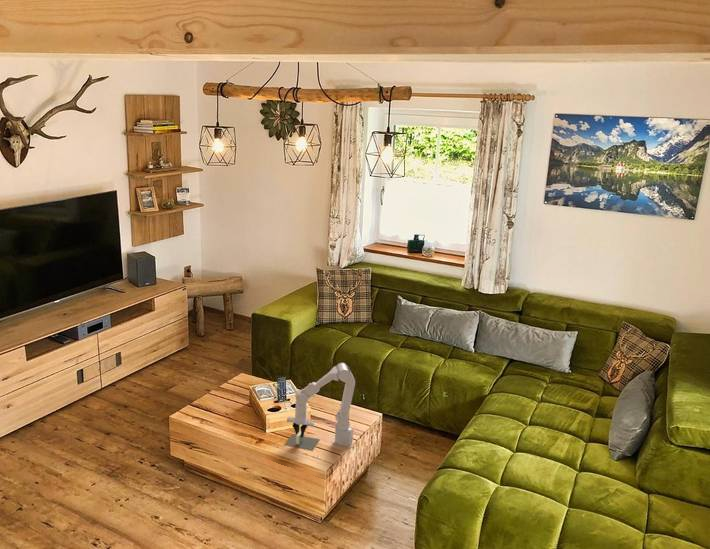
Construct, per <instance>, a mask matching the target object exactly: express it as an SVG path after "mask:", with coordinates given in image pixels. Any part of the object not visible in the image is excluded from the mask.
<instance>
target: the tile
mask: <svg viewBox="0 0 710 549" xmlns="http://www.w3.org/2000/svg"><path fill="white" fill-rule="evenodd" d="M304 436H305V435H304ZM304 436H303V437H301V429H299V432H298V434H297V435H296V444H299V445H300V443H301V442H302V440H303V439H304Z"/></svg>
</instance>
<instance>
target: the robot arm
mask: <svg viewBox="0 0 710 549" xmlns="http://www.w3.org/2000/svg"><path fill="white" fill-rule="evenodd" d="M355 379H356V378H355V377H354V375H353V373H352V371H351V369H350V367H349V366H348V365H347V364H346V363H345V362H340V363H337V365H334V366H333V367H332V368H331V369H330V370H329V372H327V373H326V374H325V375H323V376H322V377H321V378H319V379H318V380H317V381H316V382H315V381H312V382H309V383H308V384H307V385H306V386H305V387H304V388H302V389H299V390H298V391H297V392H296V393H295V394H294V396H295V411H294V412H295V416H294V417H289V416H288V417H287V418H286V423H292V428H293V429H294V433H295V434H296V435H297V434H298V432H299V431H300V430H301V437H303V436H305V435H304V434H305V431H306V429H307V427H311V428H314V426H315V421H311V420H309V419H307V403H308V400H310V399H311V398H312V397H314V396H315V395H316V394H317V393H319V391H320V389H321V388H322V387H324V386H325V385H326V384H329V383H330V382H331V381H335V382H339V381H341V382H343V383H345V384H344V389H343V393H342V399H341V402H340V407H339V409H338V410H337V411H338V412H337V413H336V414H335V420H336V424H335V426H334V427H335V429H334V430H335V431H334V439H333V441H332V442H331V443H332V444H336V445H339V446H344V447H351V446H350V445H351V444H352V443H353V440H354V428H352V427H350V424H351V423H350V410H351V404H352V400H353V396H354V391H355V386H356V380H355Z"/></svg>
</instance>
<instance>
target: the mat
mask: <svg viewBox="0 0 710 549" xmlns="http://www.w3.org/2000/svg"><path fill="white" fill-rule="evenodd" d="M320 440H321V439H320V438H316V437H309V436H306V435H304V439H303V440H302V442H301V443H300V445H299V444H296V433H292V434H291V435H290V436H289V438H288V439H287V440H286V442H284V444H283V445H284V446H288V447H290V448H291V447H293V448H296V449H301V450H306V451H311V452H313V451H314V450H315V449H316V447H317V445H318V443H319V442H320Z"/></svg>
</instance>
